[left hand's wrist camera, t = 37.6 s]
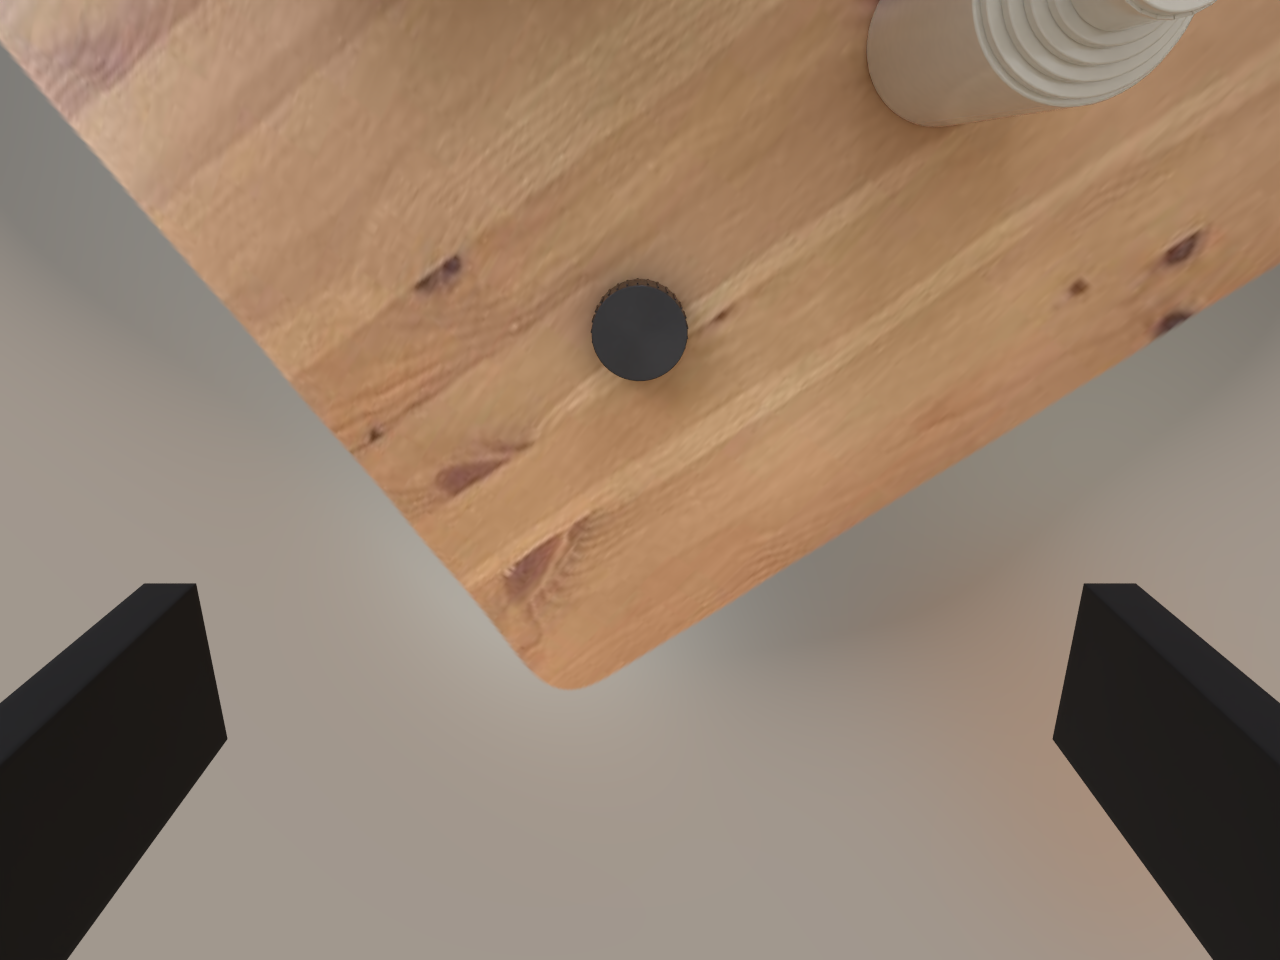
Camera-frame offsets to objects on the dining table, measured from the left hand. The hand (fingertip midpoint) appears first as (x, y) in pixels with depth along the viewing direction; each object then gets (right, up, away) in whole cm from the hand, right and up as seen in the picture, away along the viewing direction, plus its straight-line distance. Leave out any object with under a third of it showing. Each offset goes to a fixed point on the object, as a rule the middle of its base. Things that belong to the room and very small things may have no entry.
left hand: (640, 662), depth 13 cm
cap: (0, +10, +27) cm, 28 cm away
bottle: (+13, +22, +24) cm, 35 cm away
